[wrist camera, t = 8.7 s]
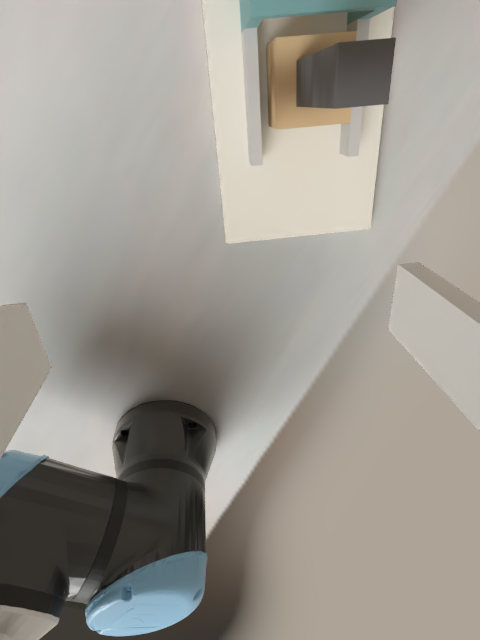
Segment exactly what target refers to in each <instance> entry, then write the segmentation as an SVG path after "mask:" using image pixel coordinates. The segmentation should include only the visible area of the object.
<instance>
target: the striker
mask: <svg viewBox="0 0 480 640" xmlns="http://www.w3.org/2000/svg"><path fill="white" fill-rule="evenodd" d="M356 37H357V31H349V32H337V33H325V34H313V35H301V36H289V37H277V38H275V39H274V40H273V41H272V42H271V43H269V44H268V45H267V46H266V62H267V94H268V125H269V127H272V128H275V129H278V130H280V129H291V128H302V127H312V126H323V125H334V124H345V123H350V122H351V108H352V107H361V106H372V105H383V104H388V100H389V91H390V82H391V74H392V65H393V56H394V48H395V39H396V38H385V39H373V40H361V41H356Z"/></svg>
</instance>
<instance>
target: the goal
mask: <svg viewBox="0 0 480 640" xmlns="http://www.w3.org/2000/svg"><path fill="white" fill-rule="evenodd" d="M239 3H240V20H241V33H242V32H243V30H244V29H246V28H257V27H258V26H259V24H260V23H261V22H262V20H263V19H269V18H281V17H293V16H306V15H318V14H331V13H343V12H348V14H347V25H348V24H350V23H352V22H354V21H356V20H357V19H369V18H372V17H374V16H376V15H378V14H380V13H382V12H384V11H386V10H388V9H390V8H392V7H394V6H396V0H239Z"/></svg>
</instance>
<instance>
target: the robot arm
mask: <svg viewBox="0 0 480 640" xmlns="http://www.w3.org/2000/svg"><path fill="white" fill-rule="evenodd" d="M388 330H389V331H390V332H391V333H392V334H393V335H394V337H395V338H396V339H397V340H398V341H399V342H400V343H401V344H402V345H403V347H404V348H405V349H406V350H407V351H408V352H409V353H410V354H411V355H412V357H413V358H414V359H415V360H416V361H417V362H418V363H419V364H420V365H421V367H422V368H423V369H424V370H425V371H426V372H427V373H428V374H429V375H430V376H431V378H432V379H433V380H434V381H435V382H436V383H437V384H438V385H439V387H440V388H441V389H442V390H443V391H444V392H445V393H446V394H447V395H448V397H449V398H450V399H451V400H452V401H453V402H454V403H455V404H456V405H457V406H458V408H459V409H460V410H461V411H462V412H463V413H464V414H465V415H466V417H467V418H468V419H469V420H470V421H471V422H472V423H473V424H474V425H475V426H476V428H477V429H478V430H479V431H480V302H478V301H477V300H475V299H474V298H472V297H470V296H469V295H467V294H466V293H464V292H463V291H461V290H460V289H458V288H457V287H455V286H454V285H452V284H451V283H449V282H448V281H446V280H445V279H443V278H442V277H440V276H438V275H437V274H436V273H434V272H433V271H431V270H429V269H428V268H427V267H425V266H424V265H422V264H421V263H419V262H417V263H407V264H398V269H397V276H396V282H395V289H394V295H393V301H392V307H391V314H390V320H389V327H388ZM51 368H52V367H51V365H50V362H49V359H48V357H47V354H46V352H45V349H44V347H43V344H42V342H41V339H40V337H39V334H38V332H37V329H36V327H35V324H34V322H33V319H32V317H31V314H30V312H29V309H28V307H27V304H26V303H19V304H9V305H3V306H1V307H0V640H38V639H40V638H41V637H42V636H43V635H45V634H46V633H47V632H48V631H49V630H51V629H52V628H53V627H54V626H56V625H57V624H58V621H59V618H60V615H61V612H62V609H63V606H64V603H65V601H66V600H68V601H74V602H80V603H85V604H87V607H86V612H85V615H86V622H87V625H88V626H89V628H90V629H91V630H93V631H94V630H96V631H97V632H98V633H99V634H103V635H109V636H130V635H138V634H143V633H148V632H153V631H156V630H159V629H162V628H165V627H168V626H171V625H173V624H175V623H177V622H179V621H180V620H182V619H184V618H185V617H187V616H188V615H189V614H190V613H192V612H193V611H194V610H195V609H196V607H197V606H198V604H199V603H200V601H201V599H202V597H203V594H204V588H205V572H206V563H207V555H206V531H205V480H206V478H207V475H208V472H209V469H210V466H211V463H212V460H213V458H214V455H215V451H216V432H215V428H214V425H213V423H212V422H211V420H210V419H209V418H208V417H207V416H206V415H205V414H204V413H203V412H202V411H200V410H199V409H197V408H195V407H193V406H191V405H188V404H185V403H181V402H175V401H155V402H150V403H146V404H143V405H140V406H138V407H136V408H134V409H132V410H130V411H129V412H128V413H126V414H125V415H124V416H123V417H122V418H121V420H120V421H119V423H118V425H117V427H116V431H115V434H114V438H113V445H112V449H113V456H114V463H115V470H116V477H117V479H116V478H113V477H110V476H107V475H103V474H100V473H96V472H93V471H89V470H86V469H83V468H79V467H76V466H72V465H69V464H66V463H63V462H59V461H56V460H53V459H50V458H49V457H48V456H45V455H43V456H38V455H33V454H29V453H24V452H20V451H16V450H8V451H5V450H6V448H7V446H8V444H9V442H10V441H11V439H12V437H13V435H14V434H15V432H16V430H17V428H18V427H19V425H20V423H21V421H22V420H23V418H24V416H25V414H26V412H27V411H28V409H29V407H30V405H31V404H32V402H33V400H34V398H35V397H36V395H37V393H38V391H39V389H40V388H41V386H42V384H43V382H44V381H45V379H46V377H47V375H48V374H49V372H50V370H51Z"/></svg>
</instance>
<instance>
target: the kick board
mask: <svg viewBox="0 0 480 640" xmlns="http://www.w3.org/2000/svg"><path fill="white" fill-rule="evenodd" d="M394 8H395V6H394V7H392V8H390V9H388V10H386V11H384V12H382V13H380V14H378V15H376V16H374V17H372V18H369V19H357V20H356V21H354V22H352V23H350V24H348V25H347V14H348V12H343V13H331V14H318V15H306V16H293V17H281V18H269V19H263V20H262V22H261V23H260V24H259V26H258V27H257V28H246V29H244V30H243V32H242V33H241V20H240V3H239V0H202V10H203V20H204V30H205V40H206V50H207V60H208V70H209V80H210V90H211V100H212V110H213V120H214V130H215V140H216V150H217V160H218V170H219V180H220V190H221V200H222V210H223V220H224V230H225V240H226V244H230V243H240V242H249V241H259V240H269V239H278V238H288V237H297V236H307V235H317V234H326V233H336V232H346V231H355V230H365V229H370V227H371V218H372V209H373V200H374V190H375V181H376V172H377V163H378V154H379V145H380V136H381V126H382V117H383V108H384V104H383V105H372V106H361V107H352V108H351V122H350V123H345V124H334V125H323V126H312V127H302V128H291V129H280V130H278V129H275V128H272V127H269V125H268V94H267V62H266V46H267V45H268V44H269V43H271V42H272V41H273V40H274V39H275V38H277V37H289V36H301V35H313V34H325V33H337V32H349V31H357V37H356V41H361V40H373V39H385V38H391V35H392V26H393V17H394Z"/></svg>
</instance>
